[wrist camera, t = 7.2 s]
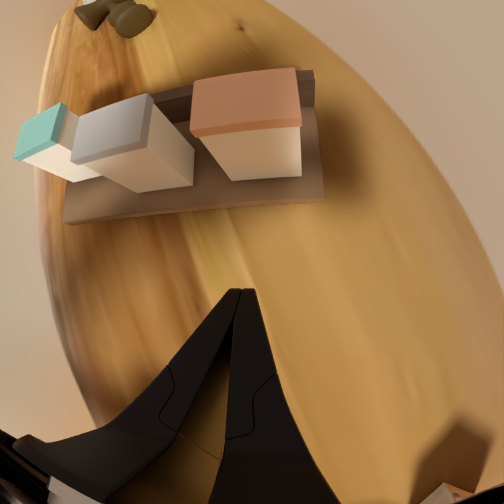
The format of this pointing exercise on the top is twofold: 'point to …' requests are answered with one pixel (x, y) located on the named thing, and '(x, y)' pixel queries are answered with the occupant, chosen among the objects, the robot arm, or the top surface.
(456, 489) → the small box
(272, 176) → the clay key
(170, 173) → the grey key
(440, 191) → the top surface
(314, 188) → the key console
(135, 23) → the kendama
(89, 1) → the flask
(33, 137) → the teal key
